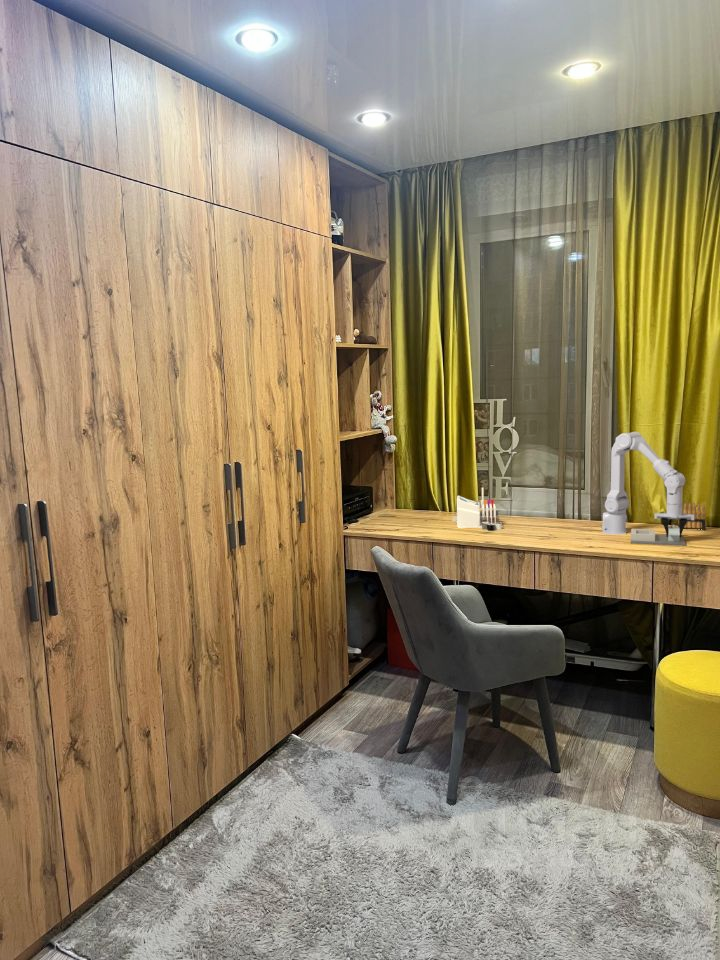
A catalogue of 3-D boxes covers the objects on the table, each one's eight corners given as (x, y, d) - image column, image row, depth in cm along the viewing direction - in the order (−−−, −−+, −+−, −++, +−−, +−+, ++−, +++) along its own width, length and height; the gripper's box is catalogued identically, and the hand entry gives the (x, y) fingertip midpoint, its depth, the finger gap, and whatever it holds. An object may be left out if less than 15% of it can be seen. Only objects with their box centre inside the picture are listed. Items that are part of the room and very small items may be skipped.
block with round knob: (668, 541, 274) (668, 528, 273) (667, 536, 283) (668, 523, 283) (679, 542, 272) (679, 529, 272) (678, 536, 282) (678, 523, 281)
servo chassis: (630, 544, 277) (630, 535, 276) (631, 535, 291) (631, 527, 291) (685, 546, 269) (685, 538, 269) (683, 537, 284) (683, 529, 283)
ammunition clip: (678, 530, 298) (678, 502, 296) (677, 529, 300) (678, 502, 298) (705, 531, 294) (706, 503, 292) (705, 530, 296) (706, 502, 294)
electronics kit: (509, 533, 307) (508, 497, 305) (451, 533, 311) (450, 498, 309) (504, 513, 351) (503, 482, 349) (453, 514, 355) (452, 483, 353)
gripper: (654, 504, 275) (654, 538, 277) (695, 505, 269) (694, 539, 271) (654, 501, 281) (654, 534, 283) (693, 502, 276) (693, 535, 278)
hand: (673, 536), depth 278 cm, fingers closed on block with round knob, 4 cm apart
